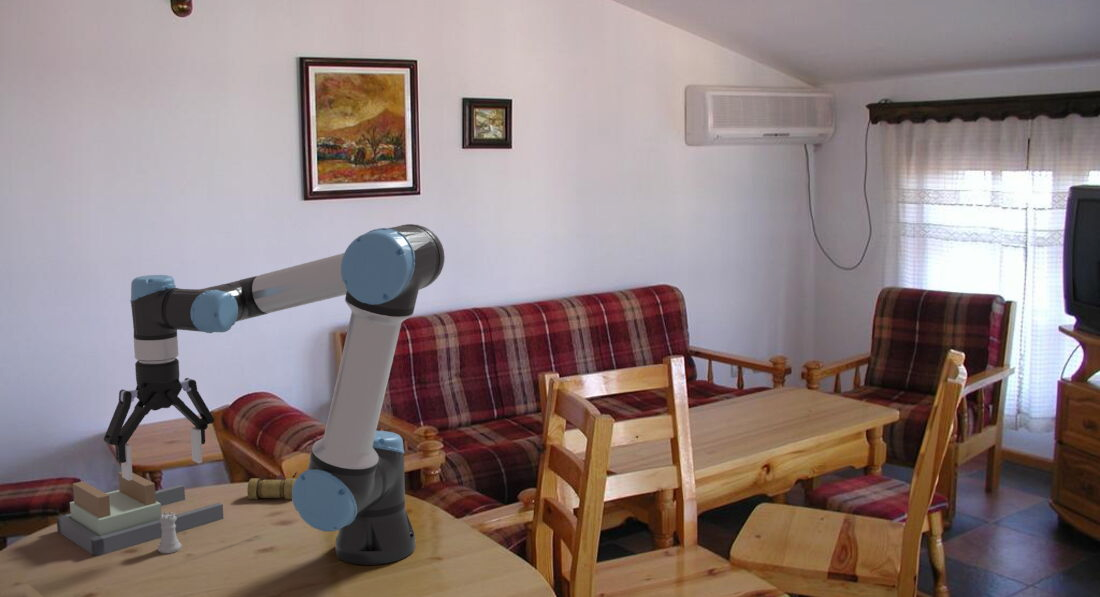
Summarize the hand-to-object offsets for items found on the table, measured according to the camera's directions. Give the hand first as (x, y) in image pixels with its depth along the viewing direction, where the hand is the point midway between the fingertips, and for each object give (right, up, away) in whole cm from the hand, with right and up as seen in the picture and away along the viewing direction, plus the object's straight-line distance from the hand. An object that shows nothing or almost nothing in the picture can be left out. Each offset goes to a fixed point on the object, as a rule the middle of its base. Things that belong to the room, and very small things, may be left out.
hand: (163, 470), depth 189 cm
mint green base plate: (-13, -14, +11) cm, 22 cm away
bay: (-10, -15, +15) cm, 23 cm away
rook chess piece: (0, -17, +3) cm, 17 cm away
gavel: (+12, -11, +41) cm, 44 cm away
